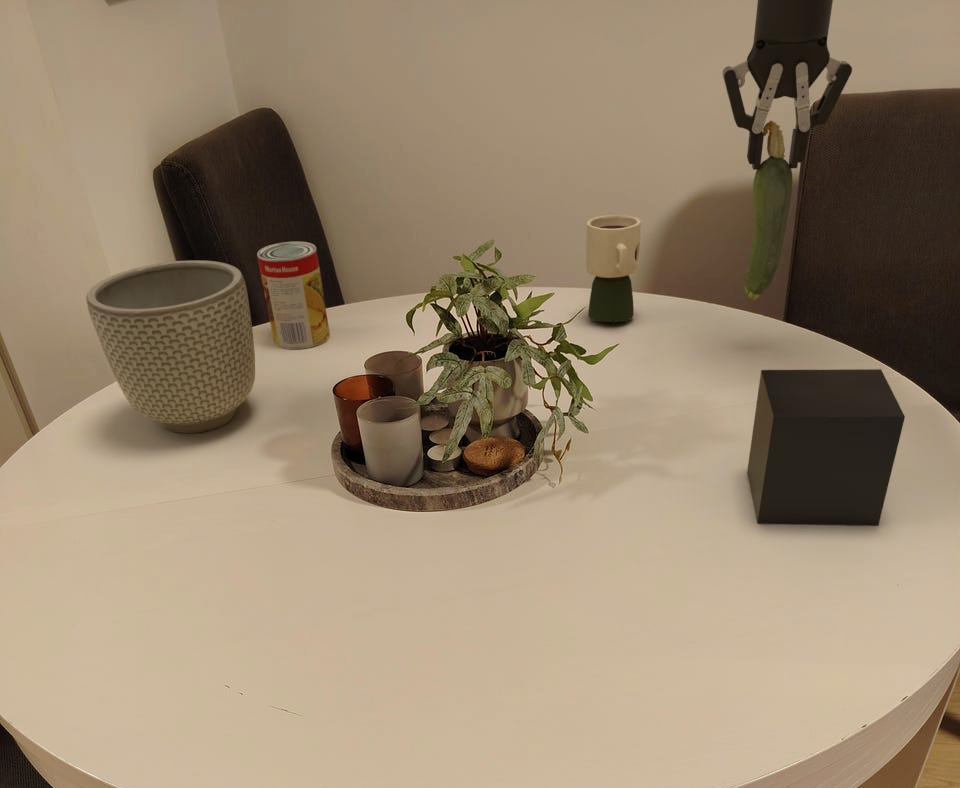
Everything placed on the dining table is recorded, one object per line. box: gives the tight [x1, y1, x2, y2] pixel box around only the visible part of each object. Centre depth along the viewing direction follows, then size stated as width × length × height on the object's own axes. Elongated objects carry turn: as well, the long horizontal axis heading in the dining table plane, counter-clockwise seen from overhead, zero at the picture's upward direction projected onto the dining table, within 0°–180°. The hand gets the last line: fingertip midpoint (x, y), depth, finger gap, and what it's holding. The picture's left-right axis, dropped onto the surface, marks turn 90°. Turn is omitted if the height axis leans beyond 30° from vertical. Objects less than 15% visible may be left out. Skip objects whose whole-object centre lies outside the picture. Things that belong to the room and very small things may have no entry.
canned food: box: [256, 240, 331, 350], centre depth 129 cm, size 8×8×12 cm
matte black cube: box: [746, 368, 906, 526], centre depth 90 cm, size 11×12×11 cm
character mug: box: [585, 214, 642, 324], centre depth 128 cm, size 11×7×13 cm, turn 9°
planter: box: [85, 259, 256, 434], centre depth 110 cm, size 17×17×16 cm
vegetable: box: [744, 120, 793, 301], centre depth 111 cm, size 4×4×20 cm
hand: (774, 166), depth 108 cm, fingers closed on vegetable, 3 cm apart
